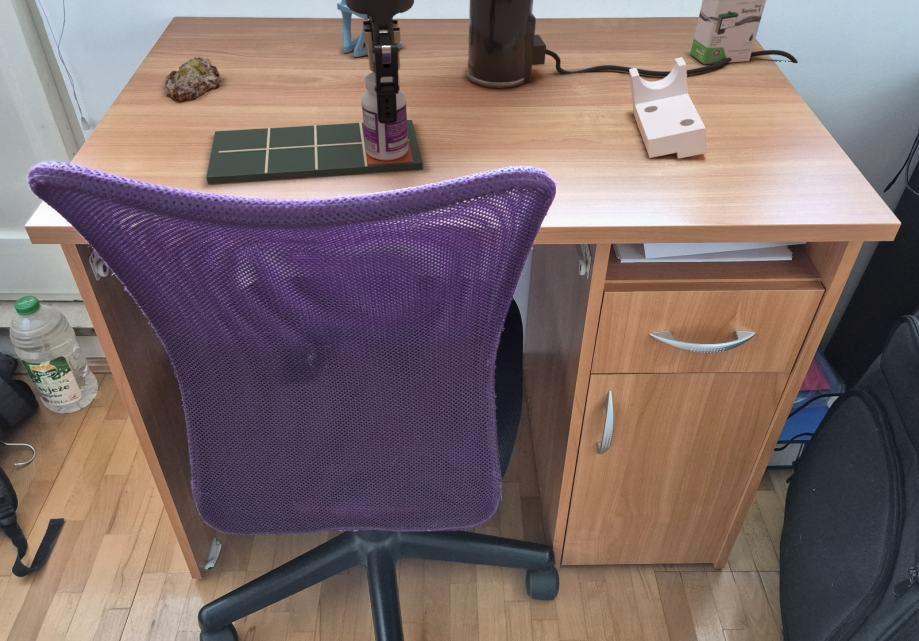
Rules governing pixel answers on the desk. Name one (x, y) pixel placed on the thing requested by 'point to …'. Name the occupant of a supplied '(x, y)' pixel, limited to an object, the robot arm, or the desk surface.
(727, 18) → the ink box
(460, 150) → the desk surface
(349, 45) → the chair
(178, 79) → the mineral rock
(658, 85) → the bracket
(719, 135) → the desk surface
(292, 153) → the grid board
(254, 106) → the desk surface
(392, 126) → the pill bottle
